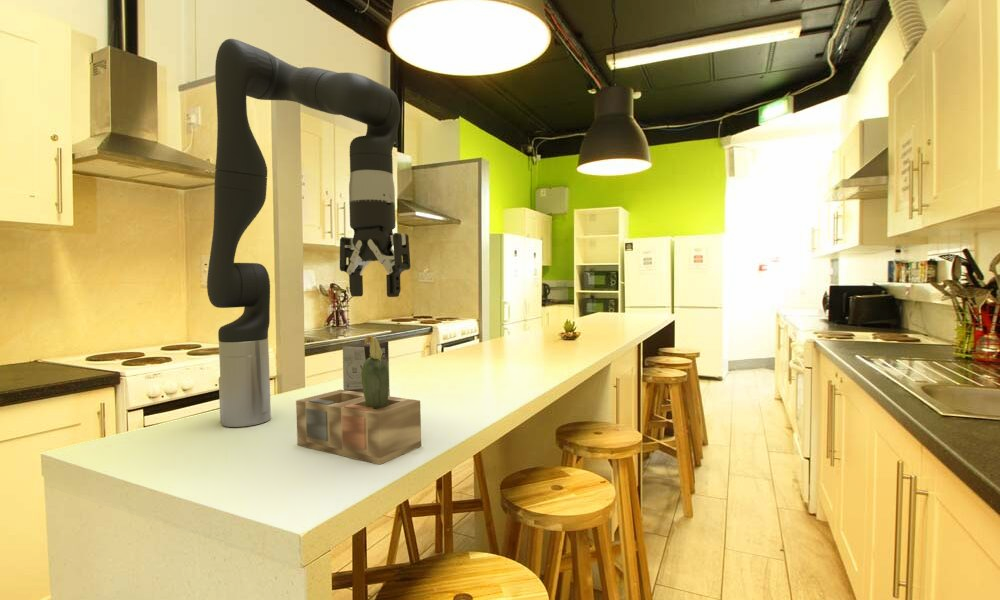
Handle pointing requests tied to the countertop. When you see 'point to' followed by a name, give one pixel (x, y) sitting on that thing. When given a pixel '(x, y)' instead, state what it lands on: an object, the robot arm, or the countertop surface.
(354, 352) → the coffee box
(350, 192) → the robot arm
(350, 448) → the holder
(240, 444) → the countertop surface
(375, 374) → the vegetable
